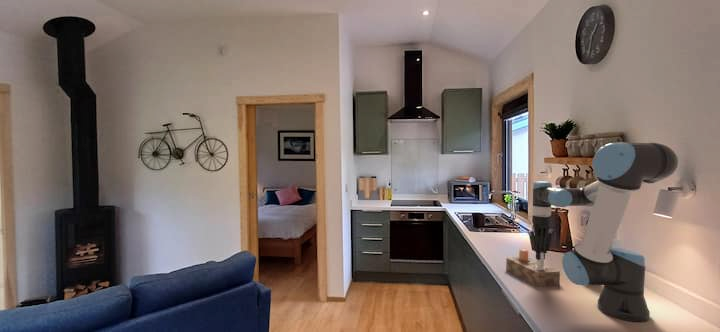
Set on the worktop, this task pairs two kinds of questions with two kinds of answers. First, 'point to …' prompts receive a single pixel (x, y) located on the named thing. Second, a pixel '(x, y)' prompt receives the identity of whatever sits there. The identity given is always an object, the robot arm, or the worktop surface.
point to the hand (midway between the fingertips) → (540, 266)
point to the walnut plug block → (533, 272)
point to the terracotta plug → (523, 255)
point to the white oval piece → (540, 268)
